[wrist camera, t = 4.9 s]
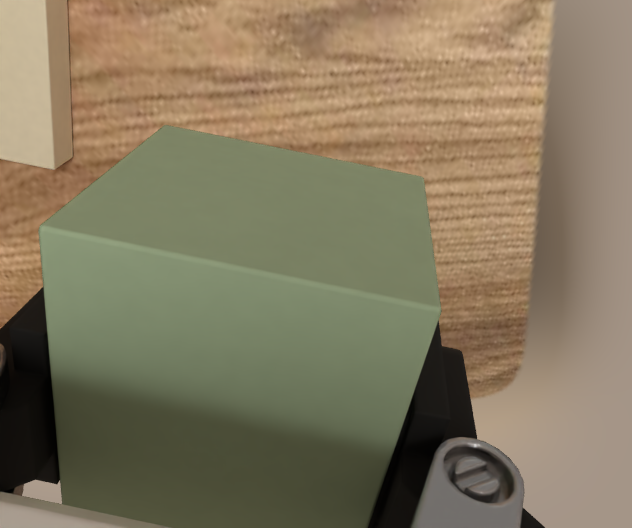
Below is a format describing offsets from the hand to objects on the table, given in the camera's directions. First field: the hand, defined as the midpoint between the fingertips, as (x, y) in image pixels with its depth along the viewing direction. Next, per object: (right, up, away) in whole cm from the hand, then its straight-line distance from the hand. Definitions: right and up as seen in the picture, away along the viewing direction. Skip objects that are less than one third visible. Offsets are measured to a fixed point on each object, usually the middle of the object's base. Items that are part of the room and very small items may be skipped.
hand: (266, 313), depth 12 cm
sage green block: (0, 0, 0) cm, 0 cm away
